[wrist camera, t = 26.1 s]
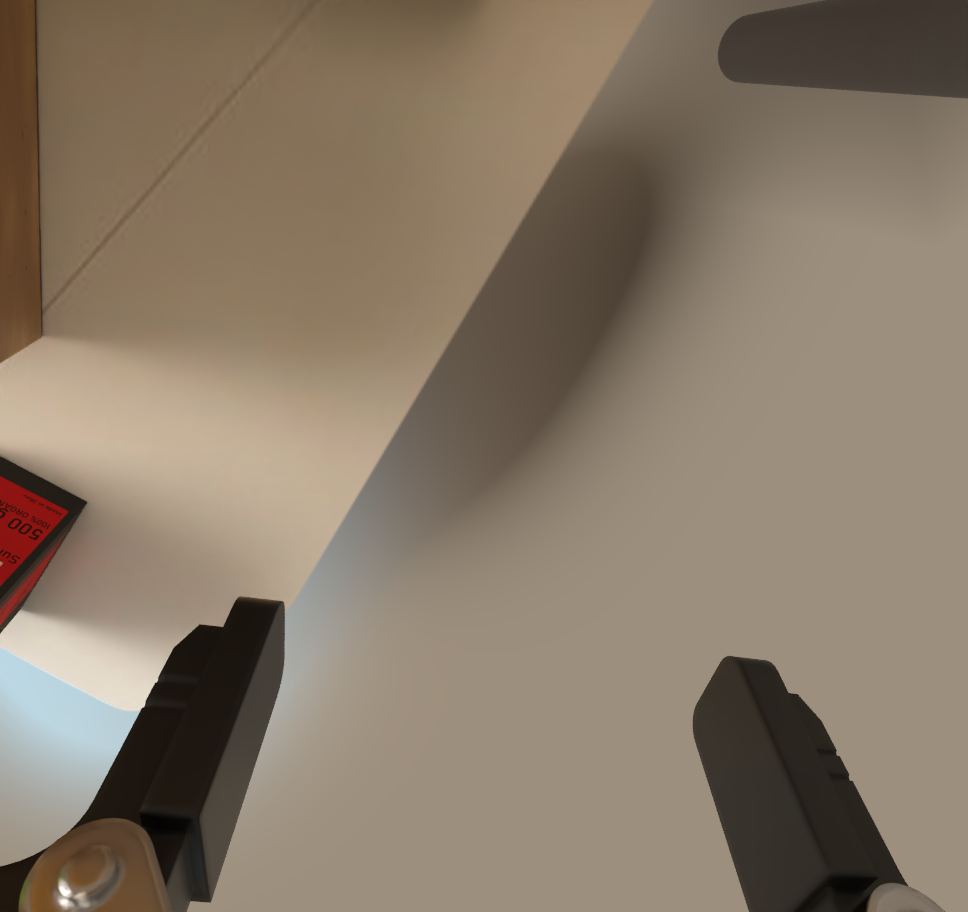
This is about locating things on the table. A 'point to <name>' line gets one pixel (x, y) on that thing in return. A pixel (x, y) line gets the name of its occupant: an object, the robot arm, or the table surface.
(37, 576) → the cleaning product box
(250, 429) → the table surface
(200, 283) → the table surface
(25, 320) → the cupboard door
